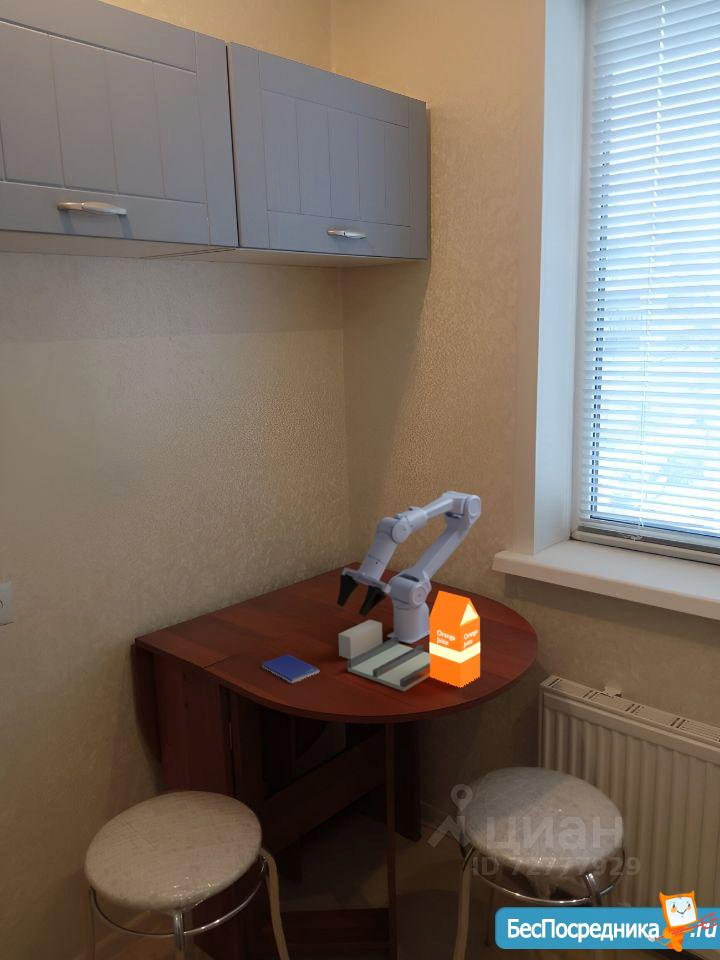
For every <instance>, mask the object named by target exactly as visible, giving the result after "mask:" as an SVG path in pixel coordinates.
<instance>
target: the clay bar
mask: <svg viewBox="0 0 720 960" xmlns="http://www.w3.org/2000/svg"><path fill="white" fill-rule="evenodd" d="M337 635H338V656H339V657H340V656H342V657H341V658H343V657H345V658H344V659H346V658H347V660H349V659H352V658H354V657H356V656H358V655H360V654H362V653H364V652H366V651H368V650H370V649H372V648H374V647H376V646H378V645H380V644H382V643H383V623H382V622H380V621H376V620H373V619H368V620H366V621H364V622H361V623H359V624H357V625H356V626H352V627H350V628H348V629H347V630H344V631H342V632H340V633H338V634H337Z"/></svg>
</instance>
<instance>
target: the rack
mask: <svg viewBox="0 0 720 960" xmlns="http://www.w3.org/2000/svg"><path fill="white" fill-rule="evenodd" d="M346 663H347V664H346V666H347V672H350V673H353V674H355V675H357V676H358V675H359V676H361V677H363V678H366V679H369V680H372V681H374V682H377V683H380V684H382V685H384V686H388V687H391V688H393V689H396V690H399V691H402V692H405V691H407V690H409V689H411V688H412V687H414V686H415V685H417V684H419V683H421V682H422V681H425V680H426V679H428V678H429V677H430V652H425V646H424V645H422V644H419V645H417V646H416V647H410V646H408V645H404V644H401V643H400V641H399V638H396V637H394V638H390V639H389V640H387V641H385V642H382V644H380V645H378V646H376V647H374V648H372V649H370V650H368V651H366V652H364V653H362V654H360V655H358V656H356V657H354V658H352V659H350V660H349V659H347V661H346Z"/></svg>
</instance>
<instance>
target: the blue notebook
mask: <svg viewBox="0 0 720 960" xmlns="http://www.w3.org/2000/svg"><path fill="white" fill-rule="evenodd" d="M262 667H263V668H262ZM261 668H262V669H264V668H265V669H264V670H266V669H267V670H266V671H268V670H269V671H271V672H272V674H273V673H274V674H273V675H275V674H276V675H275V676H277V675H278V676H277V677H279V676H280V677H282V678H283V679H282V678H281V679H282V680H284V679H285V680H284V681H286V680H287V681H286V682H288V683H289V684H291V683H293V684H295V683H298V682H300V681H303V680H304V678H305V679H307V678H306V677H308V678H309V676H310V677H312V676H311V675H313V676H315V675H317V673H318V674H319V672H320V669H318V668H317V667H315V666H313V665H311V664H309V663H307V662H305V661H302V660H300V659H299V658H297V657H295V656H292V655H290V654H285V655H284V654H283V655H282V656H280V657H276V658H273V659H271V660H267V661H265V662H262V663H261ZM269 671H268V672H269ZM271 672H270V673H271ZM314 674H315V675H314ZM280 677H279V678H280ZM302 679H303V680H302ZM297 681H298V682H297ZM294 682H295V683H294Z"/></svg>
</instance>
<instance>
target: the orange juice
mask: <svg viewBox="0 0 720 960" xmlns="http://www.w3.org/2000/svg"><path fill="white" fill-rule="evenodd" d="M480 629H481V616H479V614H478V613H477V610H476V609H475V607H474V605H473V603H472V600H471V599H470V598H469V597H465V596H462V595H458V594H454V593H451V592H450V593H449V592H447V591H442V590H439V591H438V594H437V596H436V599H435V602H434V603H433V607H432V609H431V613H430V614H429V631H430V634H429V653H430V676H429V677H430V678H432V679H434V678H435V680H438V681H440V682H442V683H445V682H446V684H448V683H449V684H448V685H452V686H455V687H456V686H457V687H458V688H459V687H460V688H459V689H461V687H462V688H464V687H465V686H467V685H469V684H470V683H472V682H474V681H475V680H477V679H479V678H480V677H481V630H480ZM478 677H479V678H478ZM476 678H477V679H476ZM474 679H475V680H474ZM471 681H472V682H471ZM469 682H470V683H469ZM466 684H467V685H466ZM464 685H465V686H464ZM457 687H456V688H457Z"/></svg>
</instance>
